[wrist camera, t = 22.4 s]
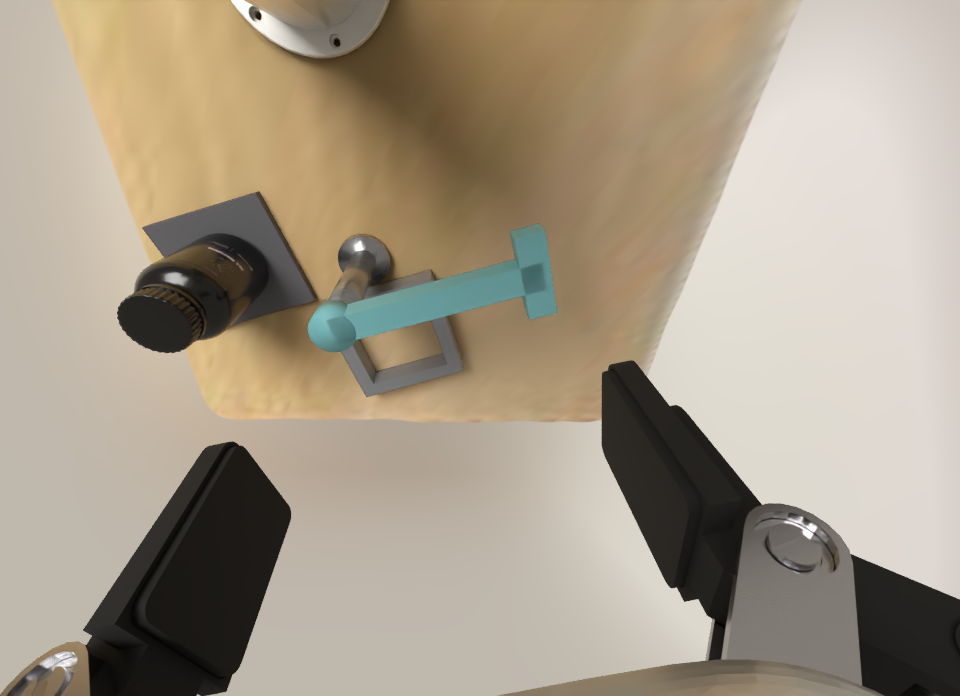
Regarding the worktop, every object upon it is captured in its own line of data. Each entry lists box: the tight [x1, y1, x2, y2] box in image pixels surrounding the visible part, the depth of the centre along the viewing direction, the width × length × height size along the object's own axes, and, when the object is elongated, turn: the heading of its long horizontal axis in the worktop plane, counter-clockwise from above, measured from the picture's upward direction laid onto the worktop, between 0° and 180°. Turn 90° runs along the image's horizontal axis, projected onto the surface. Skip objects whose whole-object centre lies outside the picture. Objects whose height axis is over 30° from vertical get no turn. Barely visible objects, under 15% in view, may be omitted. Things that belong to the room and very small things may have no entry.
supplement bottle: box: [117, 233, 269, 353], centre depth 32 cm, size 7×7×12 cm
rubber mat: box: [142, 191, 317, 324], centre depth 37 cm, size 11×11×1 cm
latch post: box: [328, 234, 390, 304], centre depth 33 cm, size 5×5×13 cm
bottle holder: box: [323, 270, 463, 397], centre depth 43 cm, size 12×12×2 cm
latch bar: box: [308, 224, 557, 352], centre depth 27 cm, size 17×6×2 cm, turn 104°
